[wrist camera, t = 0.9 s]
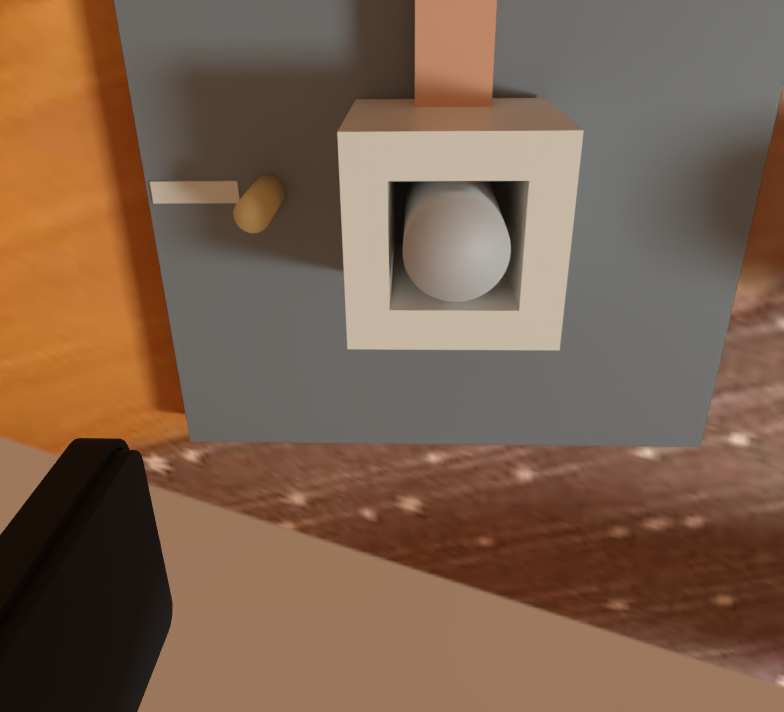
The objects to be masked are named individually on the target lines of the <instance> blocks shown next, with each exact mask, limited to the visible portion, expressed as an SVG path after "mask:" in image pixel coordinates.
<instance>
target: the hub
mask: <svg viewBox="0 0 784 712" xmlns="http://www.w3.org/2000/svg"><path fill="white" fill-rule="evenodd" d="M496 10H497V0H415V99H356V100H355V102H354V103H353V105H352V107H351V109H350V110H349V112H348V114H347V116H346V117H345V119H344V121H343V123H342V124H341V126H340V128H339V130H338V131H337V137H338V158H339V180H340V201H341V223H342V245H343V266H344V288H345V309H346V331H347V349H376V350H560V342H561V333H562V324H563V315H564V306H565V297H566V288H567V279H568V269H569V260H570V251H571V242H572V233H573V224H574V215H575V206H576V196H577V187H578V178H579V169H580V160H581V151H582V142H583V133H584V130H583V129H582V128H580V127H579V126H578V125H577V124H576V123H575V122H574V121H573V120H571V119H570V118H569V117H568V116H567V115H566V114H565V113H564V112H562V111H561V110H560V109H559V108H558V107H557V106H556V105H554V104H553V103H552V102H551V101H550V100H549V99H548V98H492V89H493V69H494V50H495V30H496ZM395 181H503V187H502V203H501V214H502V217H503V219H504V222H505V225H506V228H507V231H508V234H509V237H510V243H511V255H510V261H509V264H508V267H507V269H506V272H505V273H504V275H503V277H502V278H501V279H500V281H499V282H498V283H497V284H496V285H495V286H494V287H493V288H492V289H491V290H489V291H488V292H487V293H485V294H483V295H482V296H479V297H477V298H475V299H472V300H468V301H462V302H448V301H442V300H439V299H436V298H433V297H431V296H429V295H427V294H426V293H424V292H423V291H422V290H420V289H419V288H418V287H417V286H416V285H415V284H414V283H413V281H412V280H411V279H410V277H409V275H408V273H407V271H406V268H405V266H404V261H403V244H396V218H395Z"/></svg>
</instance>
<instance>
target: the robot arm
mask: <svg viewBox="0 0 784 712" xmlns="http://www.w3.org/2000/svg"><path fill="white" fill-rule="evenodd" d="M171 620H172V598H171V594H170V588H169V583H168V579H167V574H166V569H165V564H164V559H163V555H162V550H161V545H160V540H159V535H158V530H157V527H156V521H155V516H154V512H153V507H152V502H151V497H150V492H149V487H148V483H147V478H146V473H145V468H144V463H143V459H142V456H141V454H140V453H139V451H136V450H129V447H128V445H127V443H126V442H125V441H124V440H122V439H104V438H78V439H75V440H74V441H73V442H71V443H70V444H69V446H68V447H67V448H66V450H65V451H64V452H63V454H62V455H61V456H60V458H59V459H58V460H57V462H56V463H55V464H54V465H53V467H52V468H51V469H50V471H49V472H48V474H47V475H46V476H45V477H44V479H43V480H42V481H41V483H40V484H39V485H38V486H37V488H36V489H35V490H34V492H33V493H32V494H31V496H30V497H29V498H28V500H27V501H26V502H25V503H24V505H23V506H22V508H21V509H20V510H19V511H18V513H17V514H16V515H15V517H14V518H13V519H12V520H11V522H10V523H9V524H8V526H7V527H6V528H5V530H4V531H3V532H2V534H1V535H0V712H137V711H138V709H139V706H140V703H141V701H142V698H143V696H144V693H145V691H146V688H147V685H148V683H149V680H150V678H151V675H152V672H153V670H154V667H155V665H156V662H157V660H158V657H159V655H160V652H161V649H162V647H163V644H164V642H165V639H166V637H167V634H168V631H169V628H170V625H171Z"/></svg>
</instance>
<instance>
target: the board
mask: <svg viewBox="0 0 784 712" xmlns="http://www.w3.org/2000/svg"><path fill="white" fill-rule="evenodd" d="M114 5H115V11H116V16H117V22H118V28H119V34H120V39H121V45H122V51H123V57H124V62H125V68H126V74H127V80H128V86H129V91H130V97H131V103H132V109H133V114H134V120H135V126H136V132H137V137H138V143H139V149H140V155H141V160H142V166H143V172H144V178H145V183H146V189H147V195H148V201H149V207H150V212H151V218H152V224H153V230H154V235H155V241H156V247H157V253H158V258H159V264H160V270H161V276H162V281H163V287H164V293H165V299H166V305H167V310H168V316H169V322H170V328H171V333H172V339H173V345H174V351H175V356H176V362H177V368H178V374H179V379H180V385H181V391H182V397H183V402H184V408H185V414H186V420H187V426H188V431H189V437H190V442H279V443H376V444H472V445H569V446H666V447H700V446H701V442H702V438H703V433H704V429H705V425H706V420H707V416H708V412H709V407H710V403H711V399H712V394H713V390H714V385H715V381H716V377H717V372H718V368H719V364H720V359H721V355H722V351H723V346H724V342H725V337H726V333H727V329H728V324H729V320H730V316H731V311H732V307H733V303H734V298H735V294H736V290H737V285H738V281H739V276H740V272H741V268H742V263H743V259H744V255H745V250H746V246H747V242H748V237H749V233H750V229H751V224H752V220H753V215H754V211H755V207H756V202H757V198H758V194H759V189H760V185H761V181H762V176H763V172H764V168H765V163H766V159H767V154H768V150H769V146H770V141H771V137H772V133H773V128H774V124H775V120H776V115H777V111H778V107H779V102H780V98H781V93H782V89H783V85H784V0H497V10H496V30H495V50H494V69H493V89H492V98H548V99H549V100H550V101H551V102H552V103H553V104H554V105H556V106H557V107H558V108H559V109H560V110H561V111H562V112H564V113H565V114H566V115H567V116H568V117H569V118H570V119H571V120H573V121H574V122H575V123H576V124H577V125H578V126H579V127H580V128H582V129H583V130H584V133H583V142H582V151H581V160H580V169H579V178H578V187H577V196H576V206H575V215H574V224H573V233H572V242H571V251H570V260H569V269H568V279H567V288H566V297H565V306H564V315H563V324H562V333H561V342H560V350H376V349H347V331H346V309H345V288H344V266H343V245H342V223H341V201H340V180H339V158H338V137H337V131H338V130H339V128H340V126H341V124H342V123H343V121H344V119H345V117H346V116H347V114H348V112H349V110H350V109H351V107H352V105H353V103H354V102H355V100H356V99H415V0H114ZM502 187H503V181H395V218H396V244H403V261H404V266H405V268H406V271H407V273H408V275H409V277H410V279H411V280H412V281H413V283H414V284H415V285H416V286H417V287H418V288H419V289H420V290H422V291H423V292H424V293H426V294H427V295H429V296H431V297H433V298H436V299H439V300H442V301H448V302H462V301H468V300H472V299H475V298H477V297H479V296H482V295H483V294H485V293H487V292H488V291H489V290H491V289H492V288H493V287H494V286H495V285H496V284H497V283H498V282H499V281H500V279H501V278H502V277H503V275H504V273H505V272H506V269H507V267H508V264H509V261H510V255H511V243H510V237H509V234H508V231H507V228H506V225H505V222H504V219H503V217H502V214H501V203H502Z"/></svg>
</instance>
